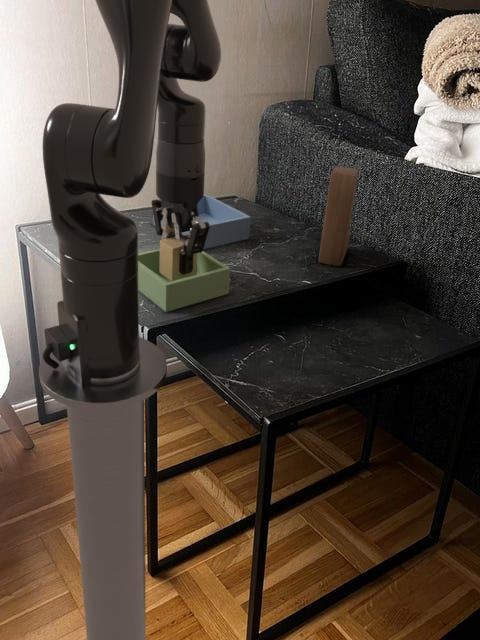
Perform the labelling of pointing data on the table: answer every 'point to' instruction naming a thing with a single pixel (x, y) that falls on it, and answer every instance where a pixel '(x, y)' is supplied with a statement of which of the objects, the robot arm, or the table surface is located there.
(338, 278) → the table surface
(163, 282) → the green tote
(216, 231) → the blue tote
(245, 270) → the table surface
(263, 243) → the table surface
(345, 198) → the wooden block
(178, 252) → the block
